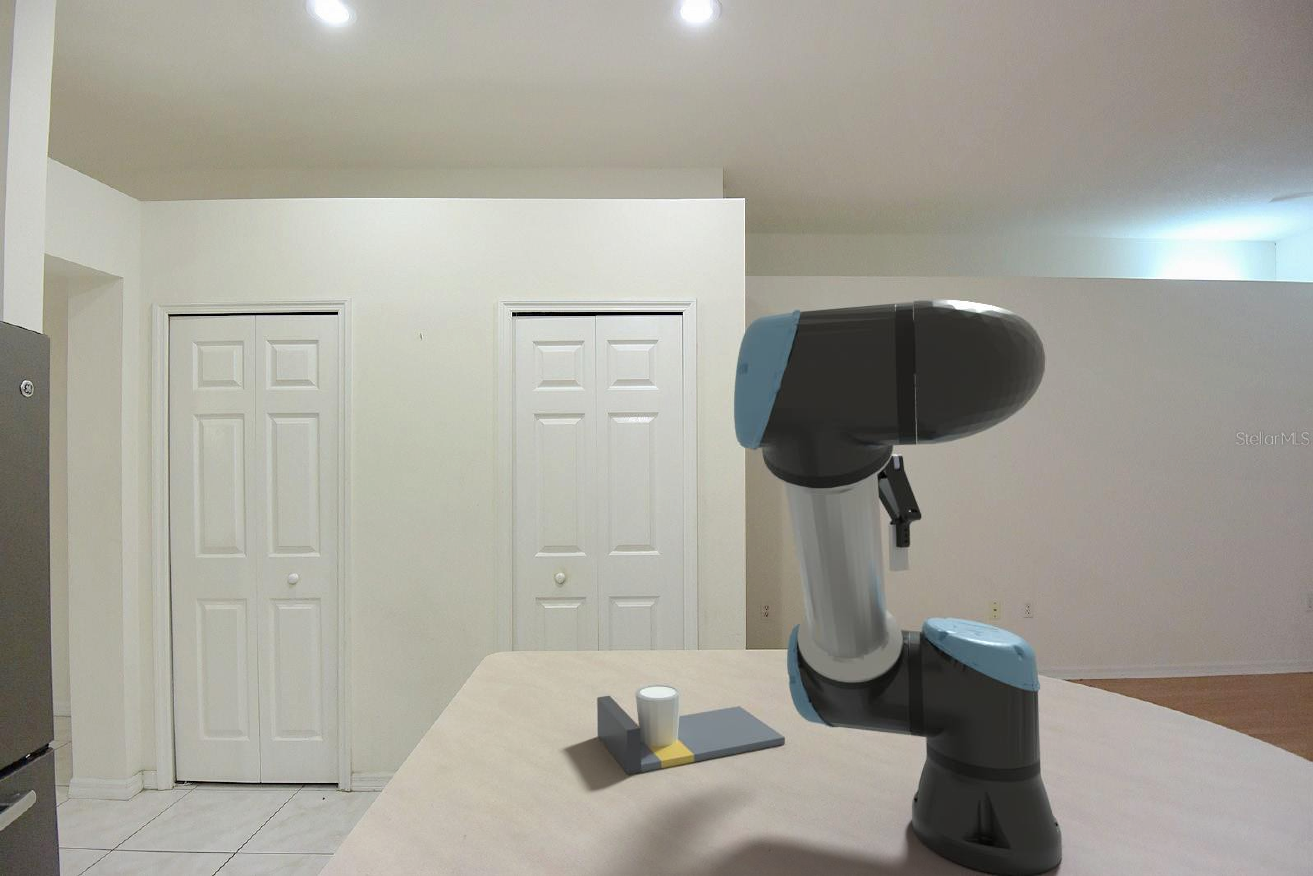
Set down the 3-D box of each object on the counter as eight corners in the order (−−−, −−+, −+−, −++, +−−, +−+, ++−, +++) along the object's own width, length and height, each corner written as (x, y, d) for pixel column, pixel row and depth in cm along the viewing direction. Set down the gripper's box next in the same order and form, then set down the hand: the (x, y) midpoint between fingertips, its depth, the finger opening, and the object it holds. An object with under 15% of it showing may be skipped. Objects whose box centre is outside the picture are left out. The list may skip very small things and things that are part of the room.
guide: (784, 744, 101) (784, 703, 101) (627, 775, 92) (626, 730, 92) (739, 712, 114) (738, 676, 114) (597, 736, 105) (597, 697, 105)
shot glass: (682, 748, 98) (681, 699, 98) (634, 748, 98) (634, 699, 98) (681, 729, 105) (680, 683, 105) (637, 729, 105) (636, 684, 105)
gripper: (946, 418, 93) (950, 574, 92) (833, 427, 116) (836, 552, 115) (902, 417, 90) (906, 578, 89) (796, 427, 113) (799, 555, 112)
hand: (867, 564), depth 102 cm, fingers open, 13 cm apart
